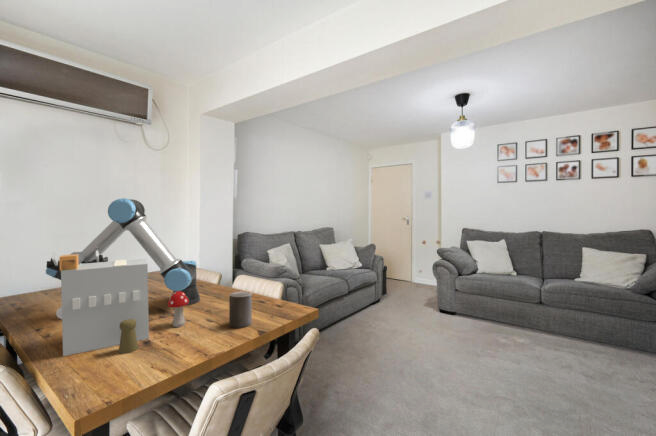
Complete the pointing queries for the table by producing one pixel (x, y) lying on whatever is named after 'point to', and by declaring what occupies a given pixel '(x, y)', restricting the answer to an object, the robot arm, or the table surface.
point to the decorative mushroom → (178, 307)
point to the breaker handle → (71, 261)
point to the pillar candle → (240, 309)
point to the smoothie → (59, 313)
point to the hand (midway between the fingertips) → (75, 254)
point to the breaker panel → (103, 303)
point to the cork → (128, 336)
